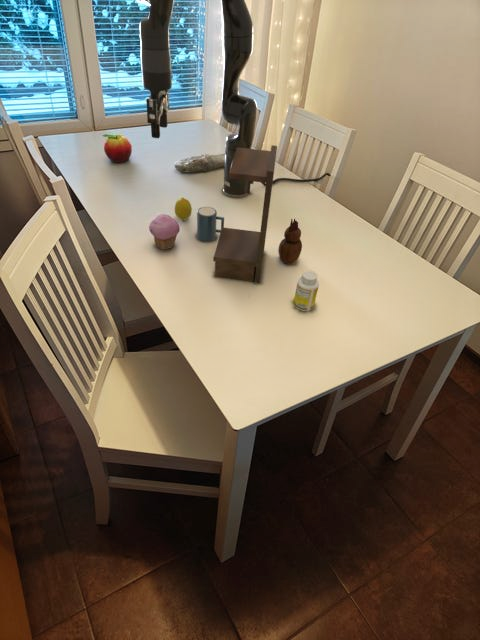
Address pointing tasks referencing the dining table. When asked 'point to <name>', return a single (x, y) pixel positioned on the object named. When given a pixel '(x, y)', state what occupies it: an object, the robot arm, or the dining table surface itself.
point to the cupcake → (164, 231)
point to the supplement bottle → (306, 291)
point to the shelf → (242, 245)
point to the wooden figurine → (290, 244)
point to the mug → (207, 224)
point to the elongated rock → (200, 163)
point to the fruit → (117, 147)
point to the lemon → (183, 209)
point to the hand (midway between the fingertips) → (159, 132)
